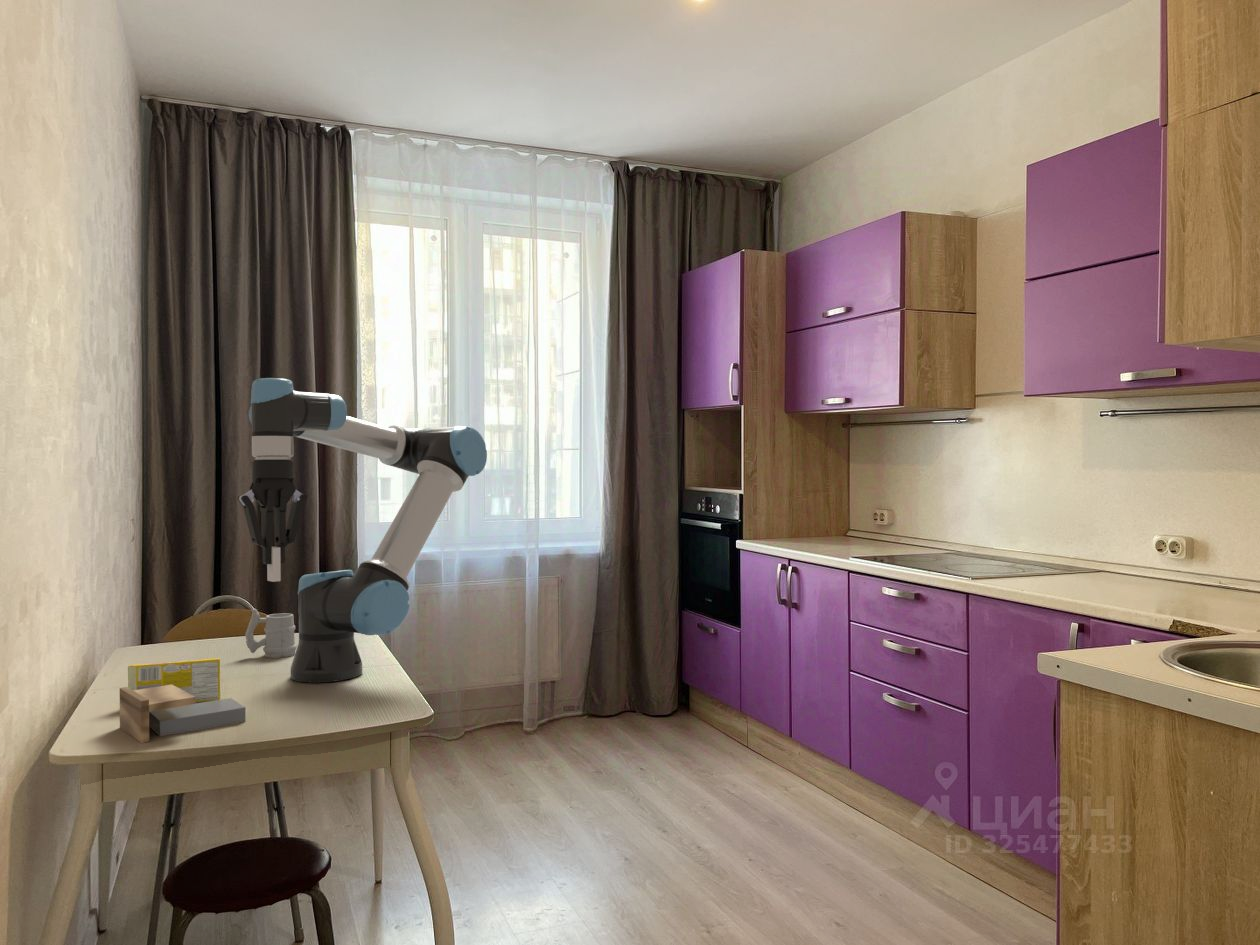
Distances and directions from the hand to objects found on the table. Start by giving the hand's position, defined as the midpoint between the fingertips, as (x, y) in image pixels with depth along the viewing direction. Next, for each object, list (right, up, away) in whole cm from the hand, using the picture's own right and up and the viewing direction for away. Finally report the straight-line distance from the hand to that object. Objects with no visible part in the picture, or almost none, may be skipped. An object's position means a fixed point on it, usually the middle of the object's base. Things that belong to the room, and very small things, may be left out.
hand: (274, 580), depth 174 cm
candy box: (-20, -25, +3) cm, 32 cm away
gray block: (-9, -25, -12) cm, 29 cm away
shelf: (-14, -24, -16) cm, 32 cm away
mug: (-20, -25, +49) cm, 58 cm away
